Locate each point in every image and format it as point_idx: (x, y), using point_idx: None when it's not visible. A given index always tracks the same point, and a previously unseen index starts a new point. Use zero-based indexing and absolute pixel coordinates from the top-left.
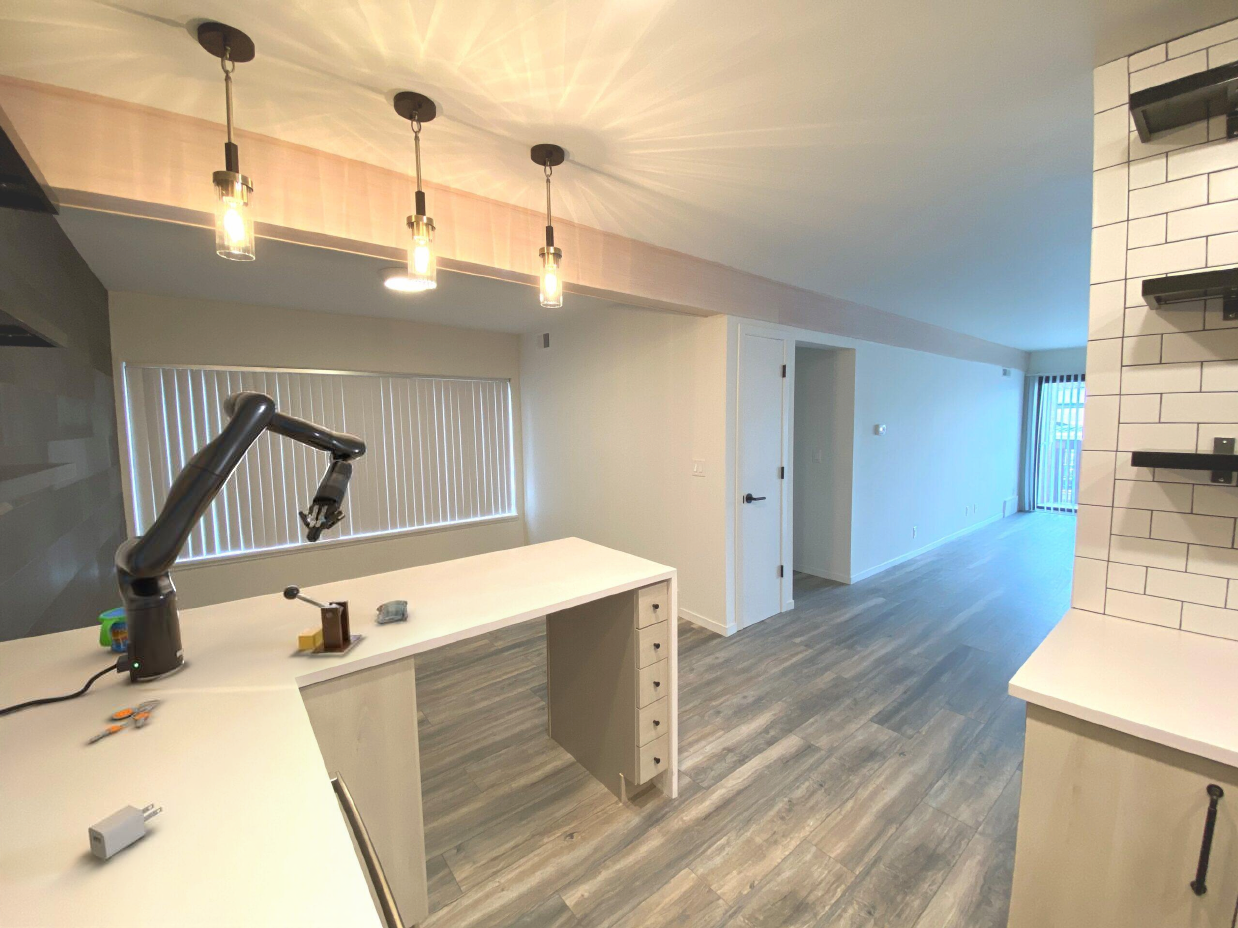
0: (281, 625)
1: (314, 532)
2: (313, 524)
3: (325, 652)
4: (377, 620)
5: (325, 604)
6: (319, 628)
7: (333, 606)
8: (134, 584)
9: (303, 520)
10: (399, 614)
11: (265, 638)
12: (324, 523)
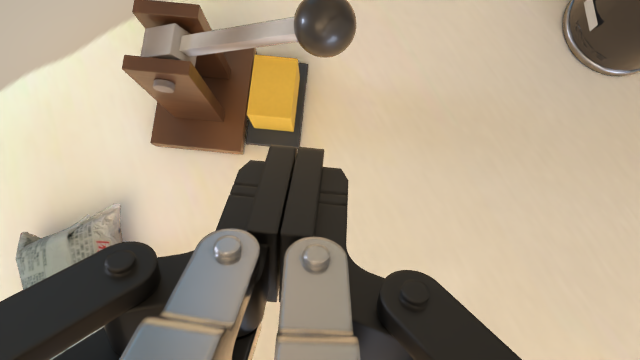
0: (464, 301)
1: (260, 182)
2: (297, 269)
3: None
4: (112, 207)
5: (197, 43)
6: (255, 106)
7: (156, 13)
8: None
9: (495, 358)
10: (42, 238)
11: (456, 199)
12: (125, 248)
